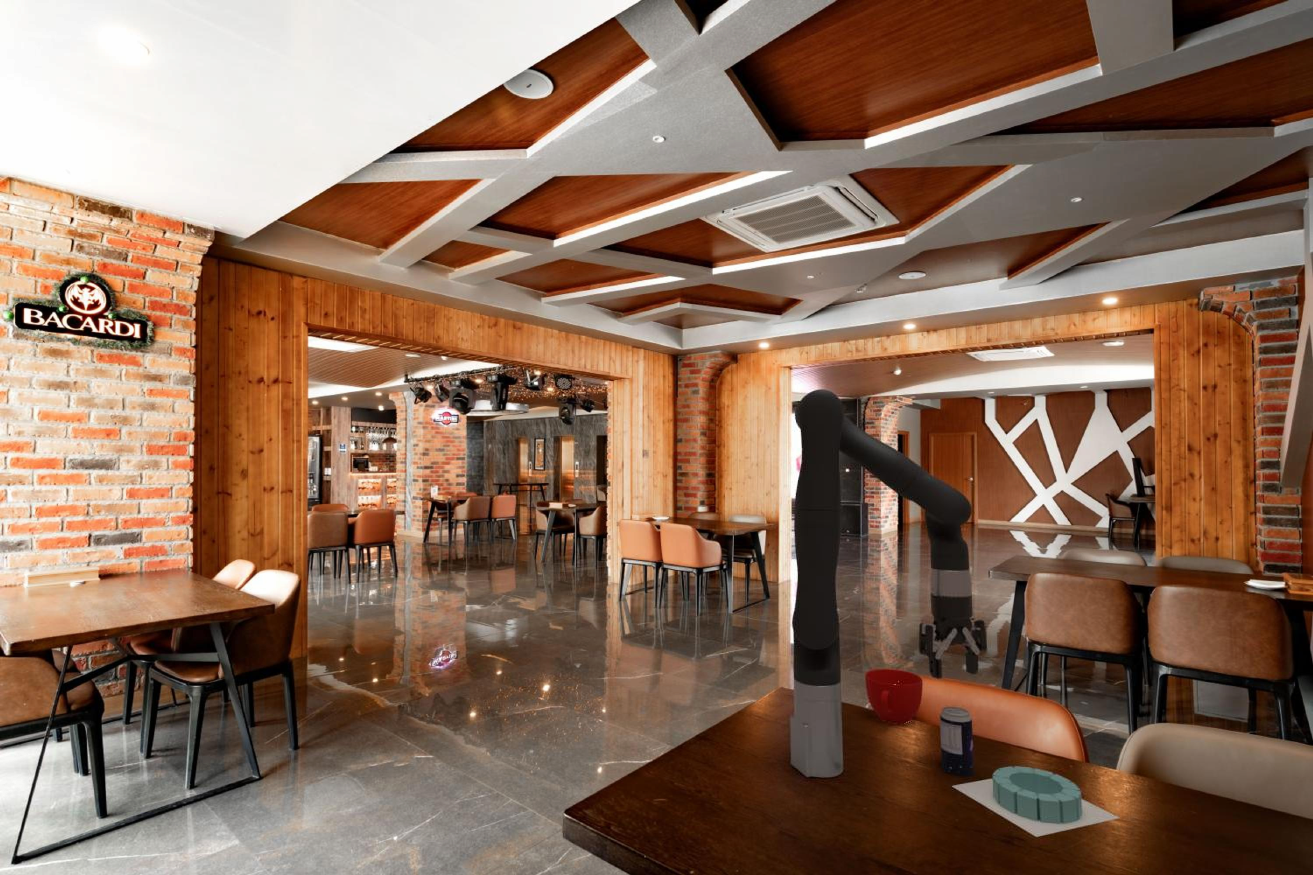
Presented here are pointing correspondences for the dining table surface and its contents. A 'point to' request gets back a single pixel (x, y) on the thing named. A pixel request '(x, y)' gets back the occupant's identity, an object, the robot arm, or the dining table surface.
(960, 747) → the beverage can
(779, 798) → the dining table surface
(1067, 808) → the ring
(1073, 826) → the mat
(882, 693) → the ceramic cup
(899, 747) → the dining table surface
